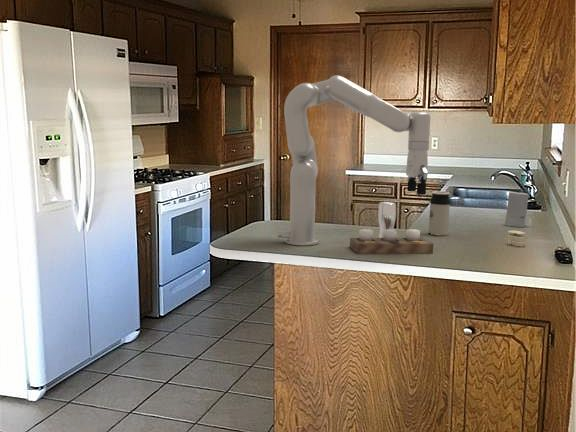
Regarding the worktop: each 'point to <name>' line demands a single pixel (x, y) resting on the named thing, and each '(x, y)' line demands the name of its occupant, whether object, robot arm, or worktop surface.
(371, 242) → the button board
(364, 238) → the button left
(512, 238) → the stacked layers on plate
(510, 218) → the skincare box
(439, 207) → the travel mug
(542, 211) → the worktop surface
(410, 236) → the button right
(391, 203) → the beer glass
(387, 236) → the button middle
